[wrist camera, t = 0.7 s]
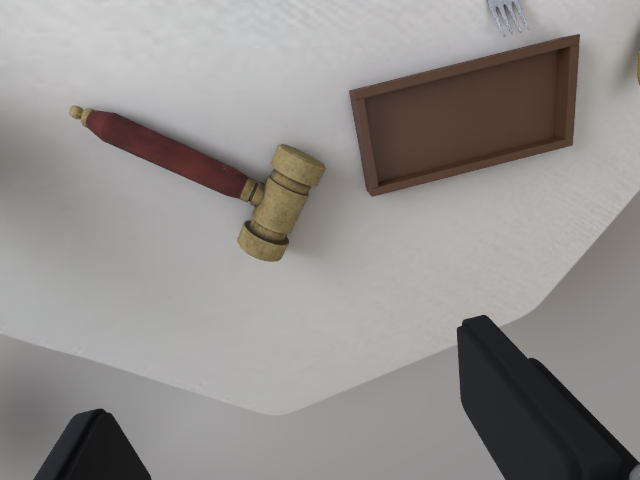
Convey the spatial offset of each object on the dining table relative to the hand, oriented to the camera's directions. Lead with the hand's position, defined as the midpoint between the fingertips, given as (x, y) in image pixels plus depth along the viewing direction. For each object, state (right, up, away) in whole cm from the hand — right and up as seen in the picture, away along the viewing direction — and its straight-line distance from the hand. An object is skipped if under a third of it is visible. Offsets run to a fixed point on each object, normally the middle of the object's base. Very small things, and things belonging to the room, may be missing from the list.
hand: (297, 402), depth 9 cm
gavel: (-11, +12, +23) cm, 28 cm away
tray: (+14, +16, +24) cm, 32 cm away
